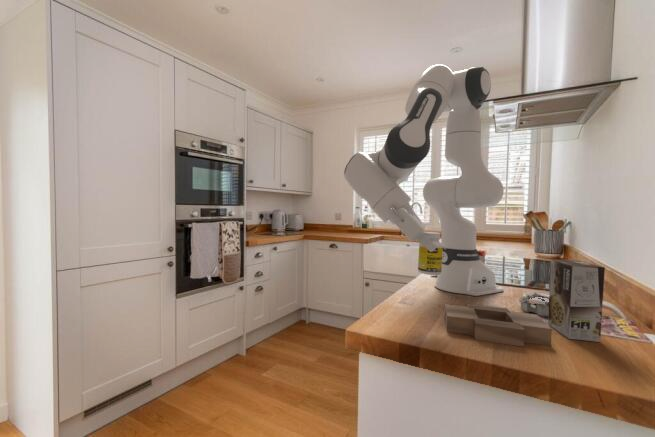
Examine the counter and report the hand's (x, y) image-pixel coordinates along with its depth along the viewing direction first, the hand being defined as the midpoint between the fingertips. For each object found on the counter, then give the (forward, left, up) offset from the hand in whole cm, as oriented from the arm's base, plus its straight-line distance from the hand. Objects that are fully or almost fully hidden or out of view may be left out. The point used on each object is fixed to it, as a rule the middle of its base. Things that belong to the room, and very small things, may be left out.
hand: (433, 248), depth 73 cm
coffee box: (-28, +13, -18) cm, 36 cm away
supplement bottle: (+1, 0, -6) cm, 6 cm away
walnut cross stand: (-11, +8, -18) cm, 22 cm away
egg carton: (-36, -1, -19) cm, 41 cm away
